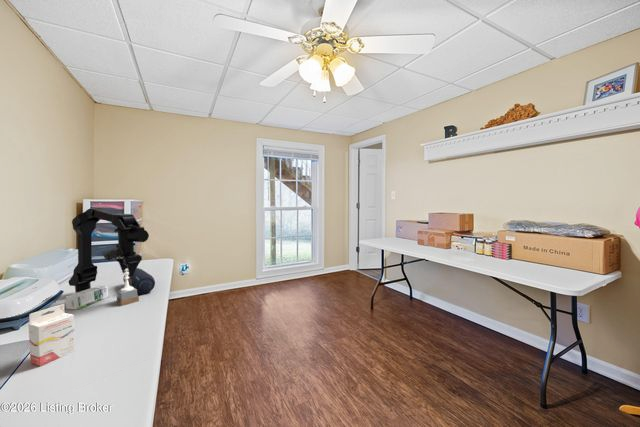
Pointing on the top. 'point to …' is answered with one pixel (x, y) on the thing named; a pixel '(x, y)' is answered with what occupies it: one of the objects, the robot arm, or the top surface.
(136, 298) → the walnut base block
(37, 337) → the ink cartridge box
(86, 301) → the syrup box
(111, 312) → the top surface
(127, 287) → the chess piece
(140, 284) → the portable speaker
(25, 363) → the top surface
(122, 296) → the slate top block
